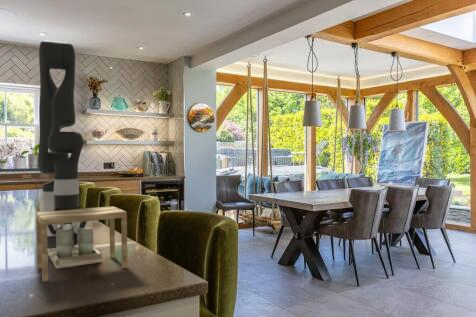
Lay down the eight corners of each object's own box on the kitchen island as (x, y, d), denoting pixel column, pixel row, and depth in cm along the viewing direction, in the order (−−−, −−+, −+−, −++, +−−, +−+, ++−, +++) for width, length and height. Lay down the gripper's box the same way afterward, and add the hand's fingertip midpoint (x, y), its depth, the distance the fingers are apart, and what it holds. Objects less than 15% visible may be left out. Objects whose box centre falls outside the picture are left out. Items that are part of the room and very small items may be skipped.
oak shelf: (36, 268, 110) (36, 212, 110) (113, 257, 122) (113, 206, 121) (42, 281, 99) (41, 219, 98) (127, 268, 110) (126, 211, 109)
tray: (46, 252, 129) (46, 224, 129) (85, 247, 135) (85, 220, 135) (56, 268, 110) (55, 235, 110) (101, 261, 116) (100, 231, 116)
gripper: (43, 195, 123) (44, 251, 124) (91, 192, 131) (92, 245, 131) (41, 193, 130) (42, 246, 130) (86, 190, 137) (87, 240, 137)
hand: (67, 245), depth 131 cm, fingers closed on tray, 3 cm apart
